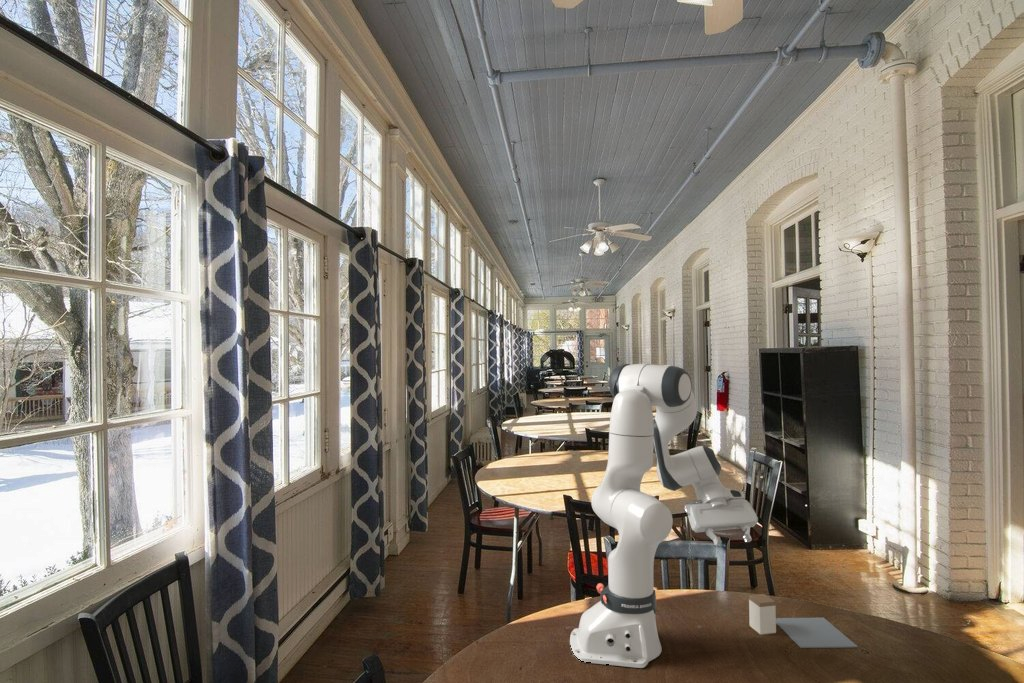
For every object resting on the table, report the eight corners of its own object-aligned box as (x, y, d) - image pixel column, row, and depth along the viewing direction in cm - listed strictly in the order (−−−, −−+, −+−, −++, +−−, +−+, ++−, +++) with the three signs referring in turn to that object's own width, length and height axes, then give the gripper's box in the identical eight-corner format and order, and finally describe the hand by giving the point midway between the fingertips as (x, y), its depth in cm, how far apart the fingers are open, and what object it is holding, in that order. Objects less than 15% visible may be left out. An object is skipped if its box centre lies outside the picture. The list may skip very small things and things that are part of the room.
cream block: (760, 634, 134) (759, 603, 134) (749, 625, 138) (748, 595, 139) (776, 632, 135) (775, 601, 135) (764, 624, 139) (764, 593, 139)
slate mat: (800, 648, 128) (800, 646, 128) (772, 619, 142) (772, 618, 142) (857, 647, 128) (857, 646, 128) (823, 618, 142) (823, 617, 142)
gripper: (685, 496, 155) (704, 541, 146) (747, 491, 159) (770, 534, 149) (678, 507, 160) (696, 551, 150) (739, 501, 163) (760, 544, 153)
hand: (733, 542), depth 150 cm, fingers open, 8 cm apart
